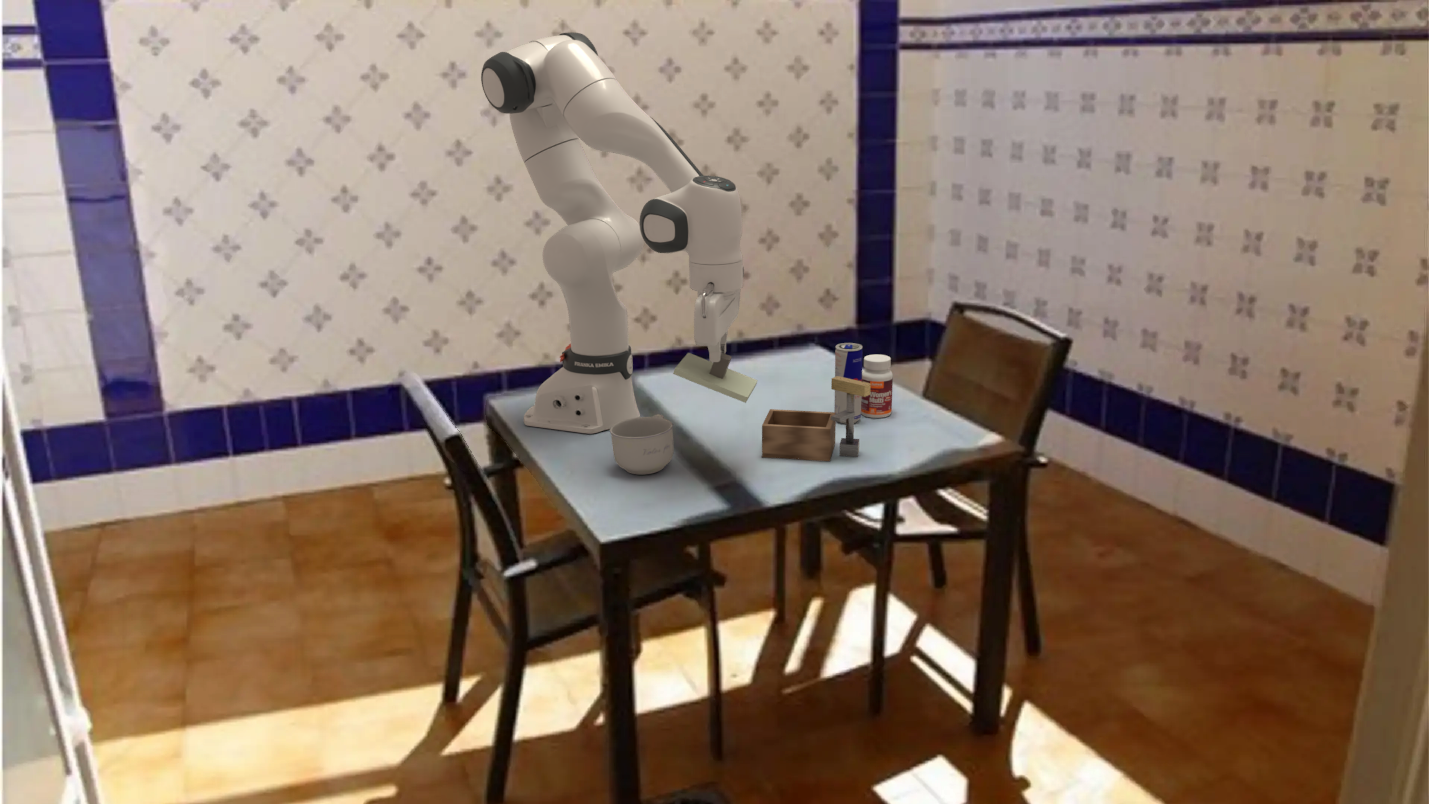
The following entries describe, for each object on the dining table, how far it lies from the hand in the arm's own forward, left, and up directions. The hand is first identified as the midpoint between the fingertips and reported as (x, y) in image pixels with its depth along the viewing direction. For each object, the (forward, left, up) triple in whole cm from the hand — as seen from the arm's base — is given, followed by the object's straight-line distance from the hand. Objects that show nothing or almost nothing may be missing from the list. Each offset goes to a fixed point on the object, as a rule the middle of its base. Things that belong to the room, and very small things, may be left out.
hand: (717, 357), depth 199 cm
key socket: (+21, +11, -20) cm, 31 cm away
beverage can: (+19, +28, -20) cm, 40 cm away
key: (+21, +9, -18) cm, 28 cm away
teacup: (-13, -1, -20) cm, 24 cm away
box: (+12, +11, -20) cm, 26 cm away
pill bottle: (+24, +33, -20) cm, 46 cm away
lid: (-1, 0, -4) cm, 4 cm away
